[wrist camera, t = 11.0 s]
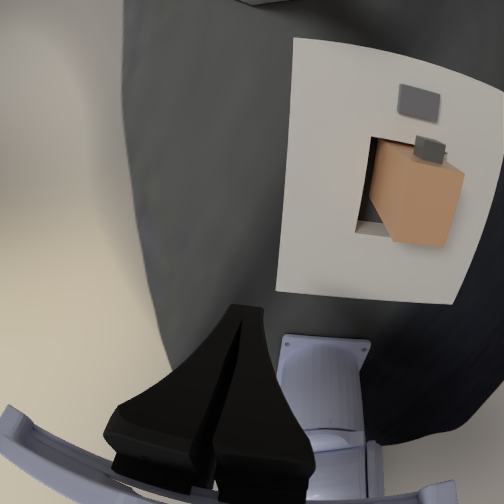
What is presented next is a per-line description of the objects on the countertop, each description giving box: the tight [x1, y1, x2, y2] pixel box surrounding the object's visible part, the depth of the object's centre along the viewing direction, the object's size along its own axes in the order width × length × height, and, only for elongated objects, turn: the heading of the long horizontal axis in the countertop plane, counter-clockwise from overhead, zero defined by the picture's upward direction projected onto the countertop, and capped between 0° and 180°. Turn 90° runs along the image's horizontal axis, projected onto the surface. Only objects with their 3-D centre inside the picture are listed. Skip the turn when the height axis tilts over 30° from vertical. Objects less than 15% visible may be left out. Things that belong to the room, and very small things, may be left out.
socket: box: [276, 38, 504, 304], centre depth 17 cm, size 16×14×2 cm
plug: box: [369, 135, 465, 248], centre depth 15 cm, size 5×3×6 cm, turn 178°
